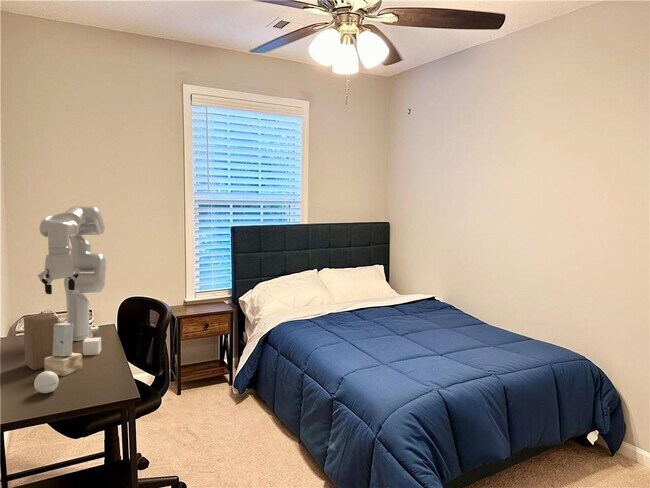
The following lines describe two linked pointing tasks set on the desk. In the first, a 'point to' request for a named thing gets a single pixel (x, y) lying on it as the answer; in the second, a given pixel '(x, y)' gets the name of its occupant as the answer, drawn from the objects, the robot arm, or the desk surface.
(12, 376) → the desk surface
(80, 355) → the beech block
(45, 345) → the block
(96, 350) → the cream white cube
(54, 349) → the skincare box
